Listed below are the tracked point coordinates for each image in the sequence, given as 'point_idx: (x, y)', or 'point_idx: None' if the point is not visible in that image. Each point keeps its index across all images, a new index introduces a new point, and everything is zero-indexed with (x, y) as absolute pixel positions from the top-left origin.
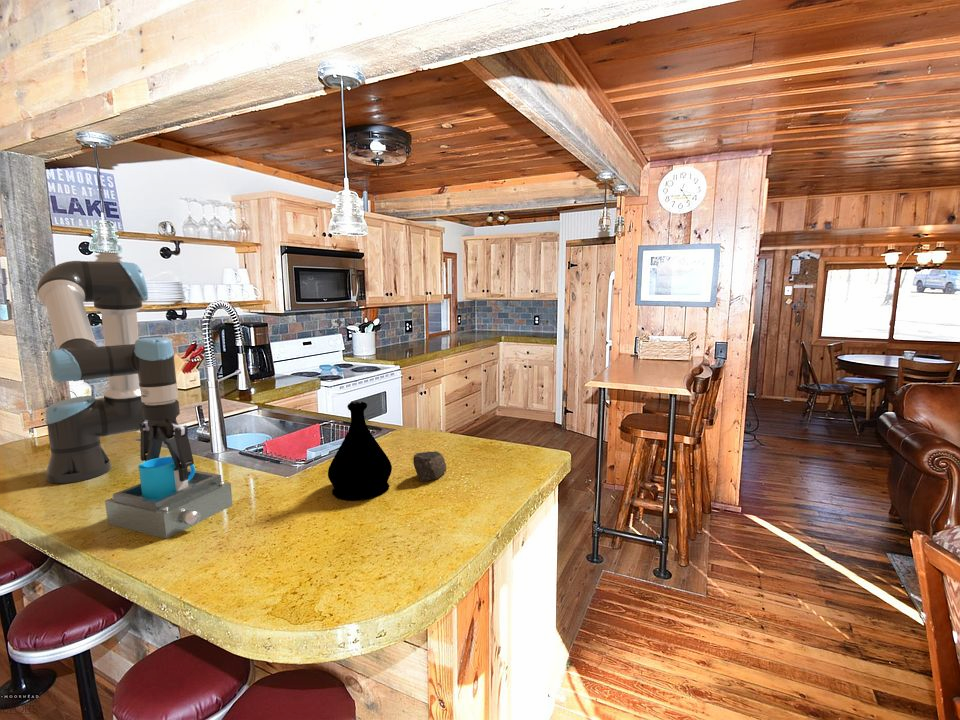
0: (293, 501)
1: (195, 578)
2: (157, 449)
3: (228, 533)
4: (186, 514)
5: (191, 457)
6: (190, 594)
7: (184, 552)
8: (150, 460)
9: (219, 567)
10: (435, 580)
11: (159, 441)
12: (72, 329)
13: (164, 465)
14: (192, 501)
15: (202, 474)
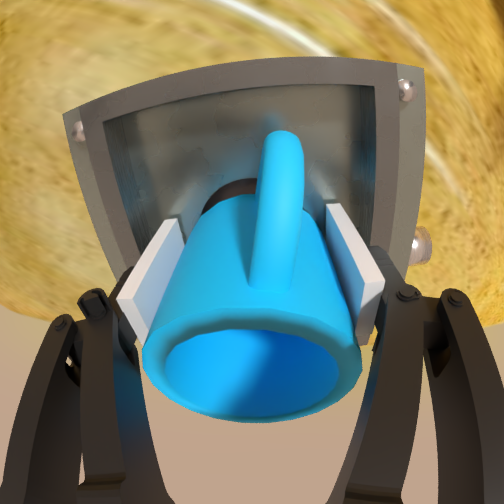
0: (491, 33)
1: (480, 308)
2: (128, 404)
3: (473, 208)
4: (412, 264)
5: (477, 332)
6: (485, 322)
7: (438, 285)
8: (162, 379)
9: (496, 282)
10: None
11: (141, 475)
12: None
13: (336, 390)
14: (410, 243)
15: (282, 84)
